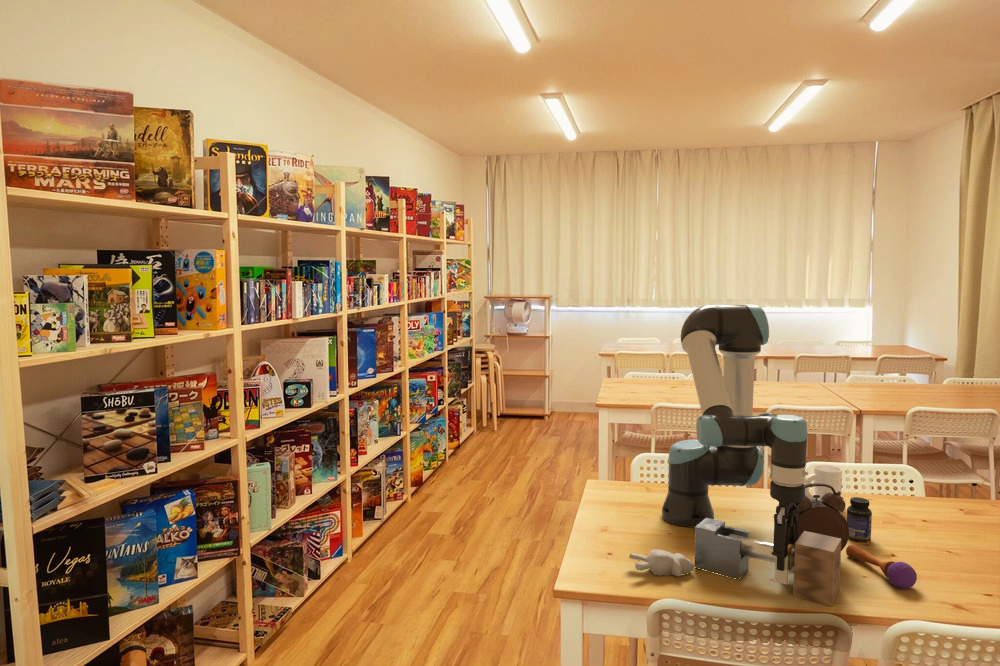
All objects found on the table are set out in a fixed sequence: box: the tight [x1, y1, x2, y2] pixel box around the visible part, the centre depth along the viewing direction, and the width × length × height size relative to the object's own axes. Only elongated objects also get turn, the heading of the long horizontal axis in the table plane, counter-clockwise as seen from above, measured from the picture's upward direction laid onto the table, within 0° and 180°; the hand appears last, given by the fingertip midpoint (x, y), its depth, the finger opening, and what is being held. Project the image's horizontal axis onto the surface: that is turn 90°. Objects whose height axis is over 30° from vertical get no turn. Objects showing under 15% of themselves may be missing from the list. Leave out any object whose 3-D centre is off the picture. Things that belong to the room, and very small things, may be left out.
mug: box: [803, 464, 843, 501], centre depth 209 cm, size 8×12×12 cm
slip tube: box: [729, 534, 795, 571], centre depth 158 cm, size 19×6×6 cm, turn 53°
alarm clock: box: [794, 482, 850, 552], centre depth 170 cm, size 14×7×20 cm, turn 86°
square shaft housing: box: [694, 518, 750, 580], centre depth 165 cm, size 11×8×11 cm
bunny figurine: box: [628, 549, 695, 577], centre depth 164 cm, size 10×5×15 cm
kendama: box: [845, 544, 918, 590], centre depth 162 cm, size 6×6×20 cm
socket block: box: [792, 531, 842, 608], centre depth 152 cm, size 8×9×13 cm
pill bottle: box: [846, 496, 873, 543], centre depth 183 cm, size 6×6×11 cm
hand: (784, 576), depth 156 cm, fingers closed on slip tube, 6 cm apart
